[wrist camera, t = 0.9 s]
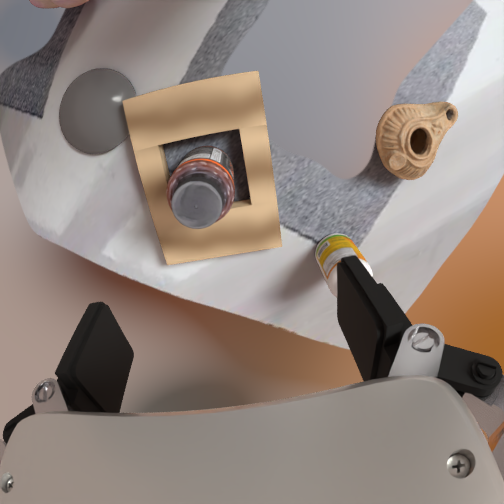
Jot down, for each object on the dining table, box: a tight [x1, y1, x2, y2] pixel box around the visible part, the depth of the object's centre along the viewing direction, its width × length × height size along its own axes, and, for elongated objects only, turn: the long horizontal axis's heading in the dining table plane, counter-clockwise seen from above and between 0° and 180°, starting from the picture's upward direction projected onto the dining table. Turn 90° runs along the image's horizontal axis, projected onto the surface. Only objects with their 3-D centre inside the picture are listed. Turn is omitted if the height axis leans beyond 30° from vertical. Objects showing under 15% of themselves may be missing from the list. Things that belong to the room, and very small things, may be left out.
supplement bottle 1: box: [166, 146, 235, 229], centre depth 27 cm, size 6×6×11 cm
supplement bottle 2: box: [315, 233, 373, 297], centre depth 34 cm, size 5×5×10 cm
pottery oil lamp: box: [376, 102, 458, 180], centre depth 28 cm, size 9×12×7 cm
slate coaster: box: [59, 69, 136, 154], centre depth 27 cm, size 10×10×1 cm
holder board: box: [122, 71, 282, 265], centre depth 31 cm, size 20×14×2 cm
